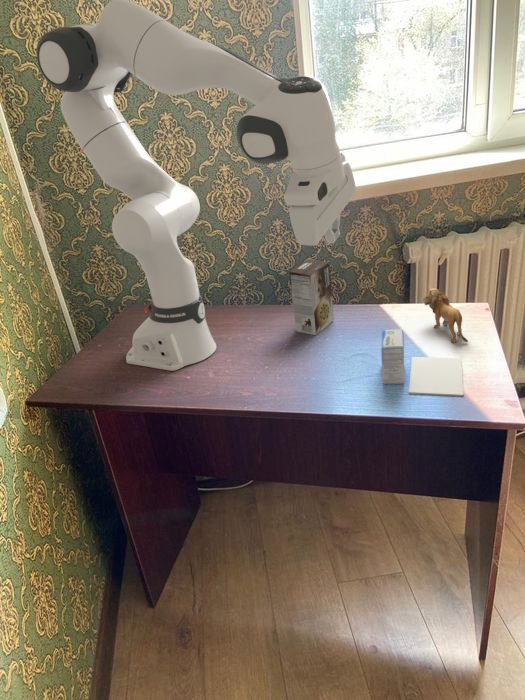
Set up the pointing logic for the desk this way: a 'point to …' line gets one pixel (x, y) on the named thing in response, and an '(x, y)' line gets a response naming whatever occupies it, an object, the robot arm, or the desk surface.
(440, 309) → the lion figurine
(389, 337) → the medicine box
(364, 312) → the desk surface
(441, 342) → the desk surface
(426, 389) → the mat
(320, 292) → the coffee box
